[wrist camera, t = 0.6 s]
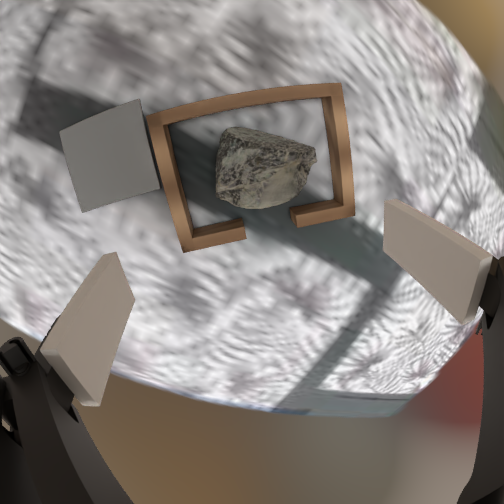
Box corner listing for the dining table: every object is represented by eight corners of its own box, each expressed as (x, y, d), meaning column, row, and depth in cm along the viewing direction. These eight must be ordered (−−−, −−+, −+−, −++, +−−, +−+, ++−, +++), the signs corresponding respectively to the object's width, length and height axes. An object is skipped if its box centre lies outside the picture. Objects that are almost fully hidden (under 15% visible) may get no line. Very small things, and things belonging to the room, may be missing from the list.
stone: (301, 121, 21) (232, 221, 23) (337, 164, 29) (285, 236, 32) (231, 90, 25) (178, 170, 28) (277, 129, 33) (234, 193, 36)
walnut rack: (152, 116, 27) (146, 115, 25) (330, 85, 28) (340, 82, 25) (185, 242, 35) (183, 253, 32) (345, 208, 35) (355, 215, 33)
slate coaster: (61, 131, 26) (59, 131, 25) (139, 99, 26) (138, 98, 26) (84, 211, 31) (82, 212, 30) (161, 187, 31) (160, 188, 31)
